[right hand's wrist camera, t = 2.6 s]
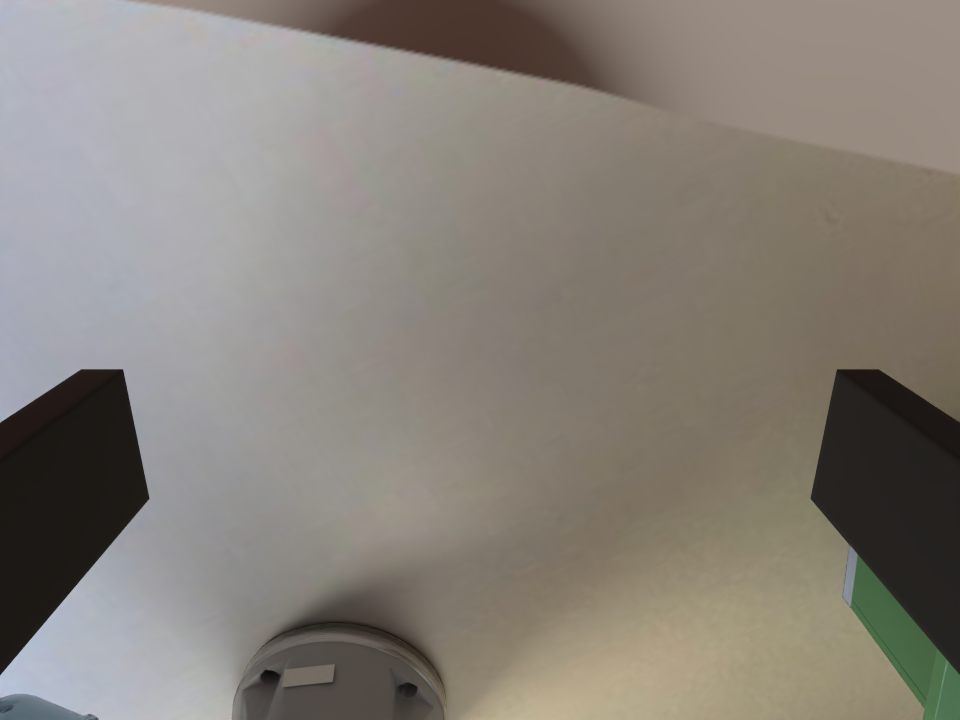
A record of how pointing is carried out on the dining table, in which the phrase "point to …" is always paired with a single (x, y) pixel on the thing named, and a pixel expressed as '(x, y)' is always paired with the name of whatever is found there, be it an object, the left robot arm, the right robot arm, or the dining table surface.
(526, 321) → the dining table surface
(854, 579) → the chest
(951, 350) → the dining table surface
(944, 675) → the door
